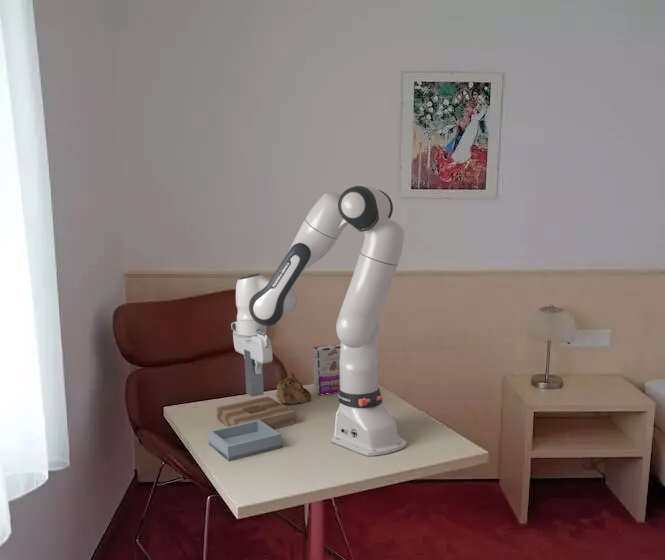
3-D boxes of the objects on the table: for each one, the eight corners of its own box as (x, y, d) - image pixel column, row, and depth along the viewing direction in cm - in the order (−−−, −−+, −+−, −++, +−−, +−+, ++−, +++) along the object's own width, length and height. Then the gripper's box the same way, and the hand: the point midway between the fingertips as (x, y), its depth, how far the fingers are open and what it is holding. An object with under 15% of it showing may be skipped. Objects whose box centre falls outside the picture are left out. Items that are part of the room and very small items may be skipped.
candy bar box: (342, 387, 249) (341, 342, 246) (348, 391, 244) (347, 345, 242) (313, 391, 244) (312, 346, 242) (319, 395, 240) (318, 349, 237)
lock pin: (263, 394, 214) (261, 349, 212) (251, 396, 212) (249, 351, 210) (258, 391, 217) (255, 347, 215) (246, 393, 215) (244, 349, 213)
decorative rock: (280, 408, 228) (279, 376, 226) (273, 403, 233) (272, 372, 231) (313, 402, 233) (312, 371, 232) (305, 397, 238) (304, 366, 237)
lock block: (295, 424, 213) (294, 411, 212) (240, 436, 204) (240, 423, 203) (268, 408, 228) (268, 396, 228) (217, 419, 219) (216, 407, 218)
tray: (281, 447, 195) (281, 434, 194) (228, 461, 187) (227, 446, 186) (259, 432, 207) (259, 419, 206) (208, 444, 198) (208, 431, 198)
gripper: (276, 331, 204) (278, 377, 206) (247, 320, 221) (249, 362, 223) (257, 334, 201) (259, 381, 203) (228, 323, 218) (231, 366, 220)
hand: (254, 371), depth 213 cm, fingers closed on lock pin, 4 cm apart
